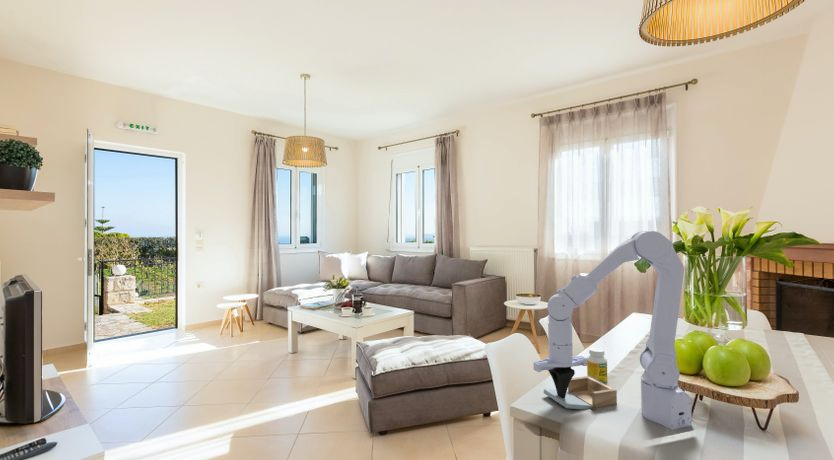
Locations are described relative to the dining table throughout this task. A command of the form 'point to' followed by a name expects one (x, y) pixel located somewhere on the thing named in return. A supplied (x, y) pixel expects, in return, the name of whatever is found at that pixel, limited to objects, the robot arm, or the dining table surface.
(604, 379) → the supplement bottle
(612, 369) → the dining table surface
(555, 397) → the panel
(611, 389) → the crate
